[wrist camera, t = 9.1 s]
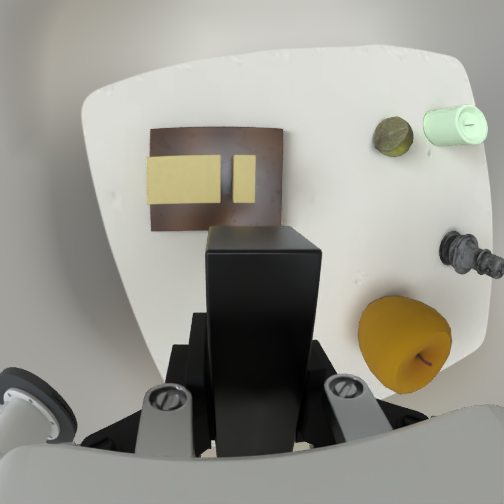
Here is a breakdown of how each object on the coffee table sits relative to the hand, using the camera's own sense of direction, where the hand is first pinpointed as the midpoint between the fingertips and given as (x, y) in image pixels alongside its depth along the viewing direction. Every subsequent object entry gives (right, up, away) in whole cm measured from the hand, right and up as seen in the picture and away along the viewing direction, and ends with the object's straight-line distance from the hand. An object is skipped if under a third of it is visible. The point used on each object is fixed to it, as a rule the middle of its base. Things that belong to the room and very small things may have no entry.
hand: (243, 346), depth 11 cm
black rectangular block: (0, +1, +4) cm, 4 cm away
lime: (+16, +18, +21) cm, 32 cm away
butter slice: (-1, +11, +19) cm, 22 cm away
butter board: (-4, +12, +20) cm, 23 cm away
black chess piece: (+30, +4, +26) cm, 40 cm away
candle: (+25, +21, +21) cm, 39 cm away
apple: (+18, -6, +27) cm, 33 cm away
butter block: (-6, +11, +18) cm, 23 cm away
